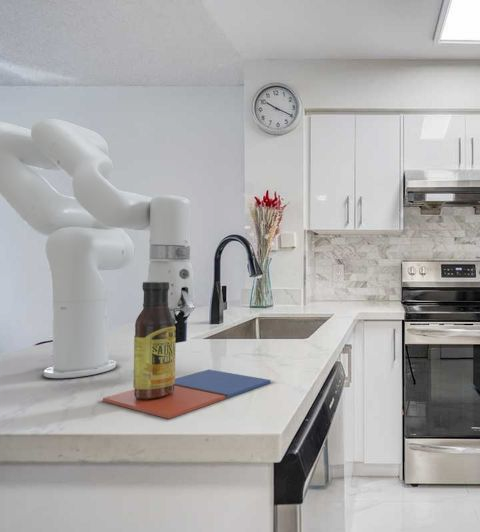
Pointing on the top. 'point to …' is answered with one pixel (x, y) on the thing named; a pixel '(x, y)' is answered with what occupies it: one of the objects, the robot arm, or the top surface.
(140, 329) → the sauce bottle
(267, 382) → the sorting board
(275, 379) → the top surface
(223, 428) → the top surface
